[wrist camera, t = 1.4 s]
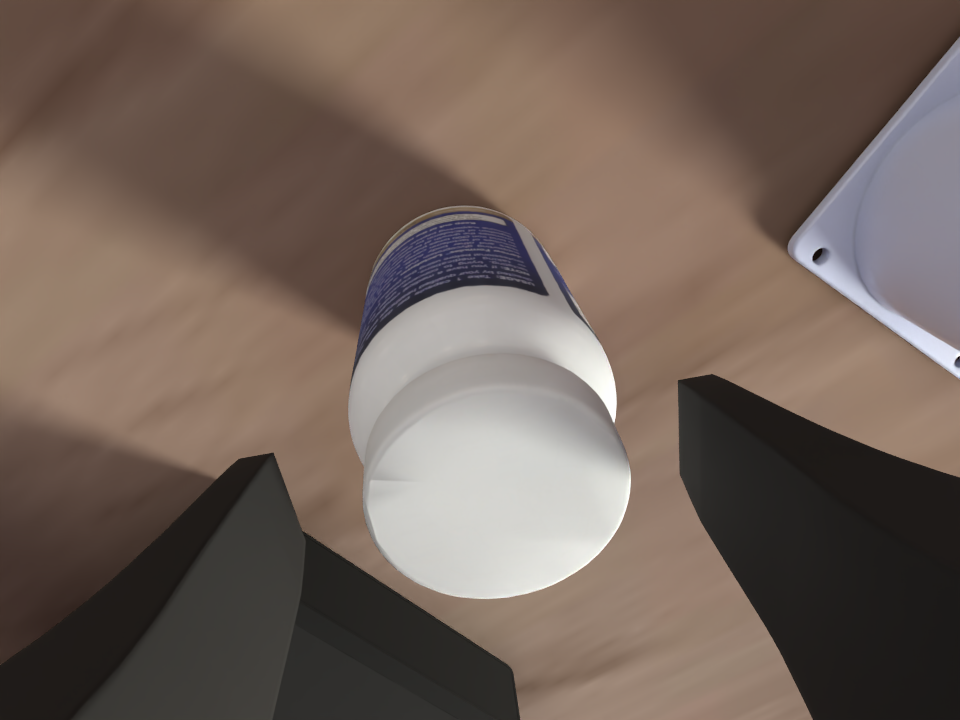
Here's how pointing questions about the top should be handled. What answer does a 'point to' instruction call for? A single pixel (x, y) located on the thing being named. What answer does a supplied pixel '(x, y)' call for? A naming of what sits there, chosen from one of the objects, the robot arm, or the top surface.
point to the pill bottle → (482, 411)
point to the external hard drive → (381, 655)
